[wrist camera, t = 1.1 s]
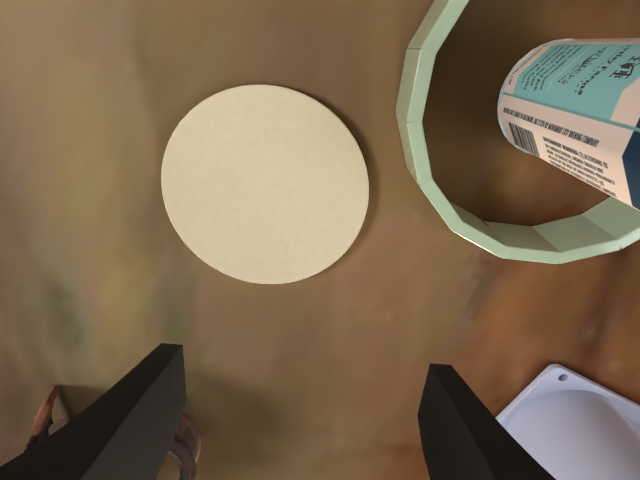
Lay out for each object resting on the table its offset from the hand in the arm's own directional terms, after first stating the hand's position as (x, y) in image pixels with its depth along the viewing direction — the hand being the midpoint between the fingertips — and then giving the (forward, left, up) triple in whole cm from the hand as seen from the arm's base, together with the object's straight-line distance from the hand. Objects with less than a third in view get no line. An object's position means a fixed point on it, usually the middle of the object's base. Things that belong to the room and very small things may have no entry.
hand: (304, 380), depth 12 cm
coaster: (+3, -1, -10) cm, 11 cm away
